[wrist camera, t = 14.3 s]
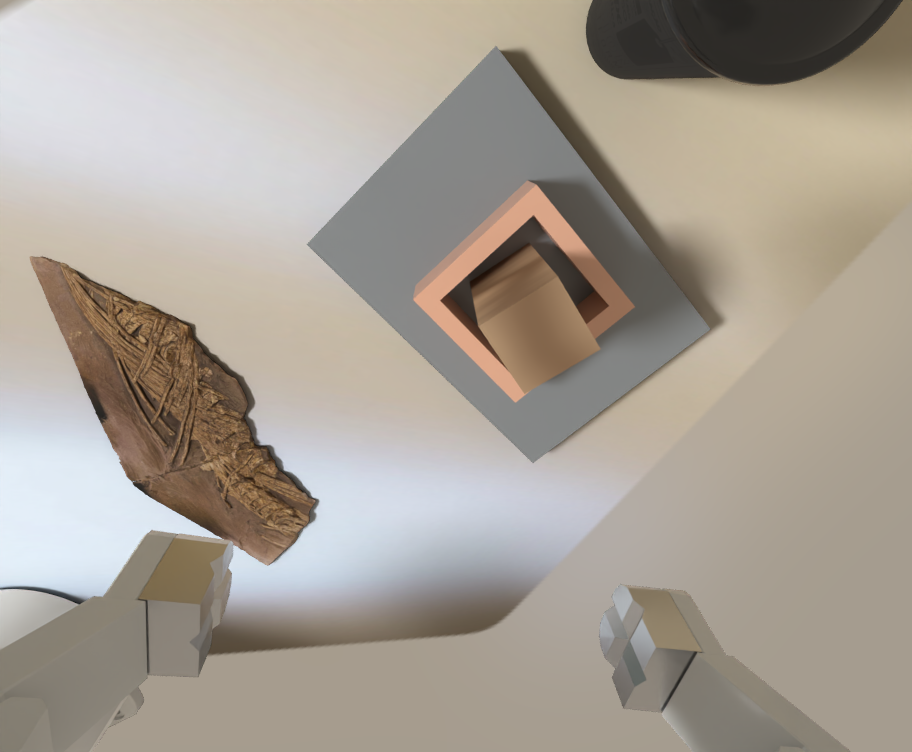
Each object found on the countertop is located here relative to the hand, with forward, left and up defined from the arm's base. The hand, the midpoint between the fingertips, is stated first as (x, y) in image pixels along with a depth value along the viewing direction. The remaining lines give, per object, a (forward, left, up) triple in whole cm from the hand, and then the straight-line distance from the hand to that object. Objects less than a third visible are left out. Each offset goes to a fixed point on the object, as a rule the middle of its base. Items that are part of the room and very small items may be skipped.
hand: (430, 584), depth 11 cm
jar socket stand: (+4, -3, -23) cm, 24 cm away
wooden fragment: (-19, +5, -24) cm, 31 cm away
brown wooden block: (+4, -3, -22) cm, 22 cm away
